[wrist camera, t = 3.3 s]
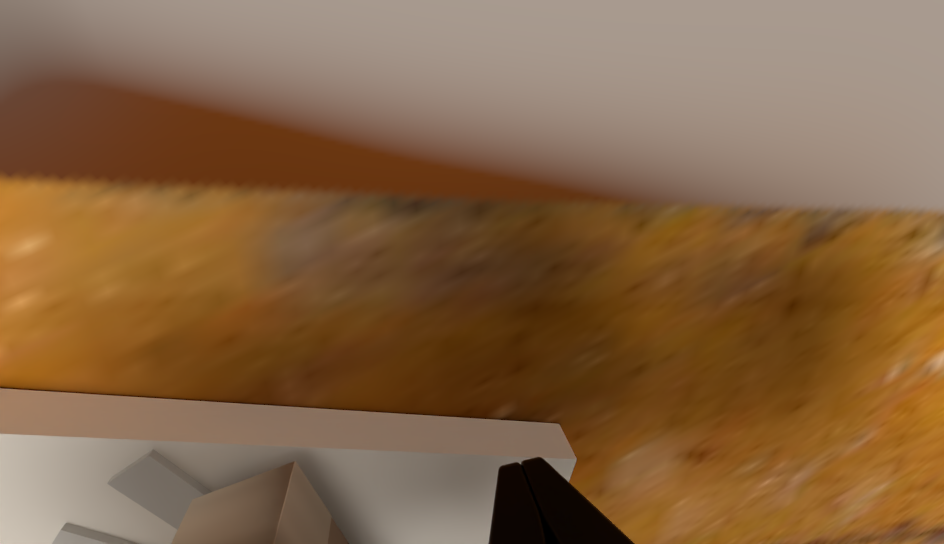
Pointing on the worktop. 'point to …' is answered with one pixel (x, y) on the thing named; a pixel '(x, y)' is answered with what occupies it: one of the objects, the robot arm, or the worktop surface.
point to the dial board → (249, 466)
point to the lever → (261, 513)
